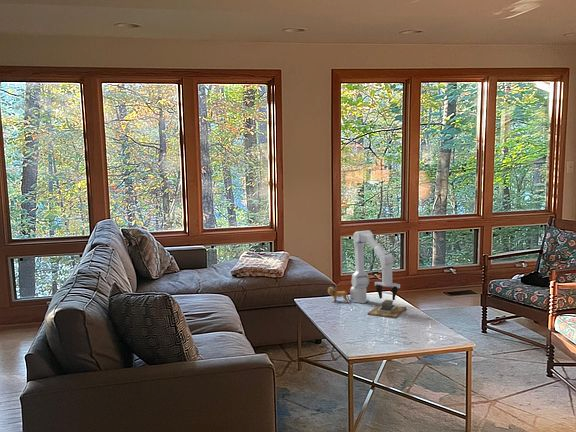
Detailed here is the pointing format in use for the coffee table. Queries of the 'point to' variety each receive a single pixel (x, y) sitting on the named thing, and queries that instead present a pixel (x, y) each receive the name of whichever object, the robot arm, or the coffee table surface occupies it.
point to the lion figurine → (337, 294)
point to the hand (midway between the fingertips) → (387, 299)
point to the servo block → (387, 304)
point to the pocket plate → (387, 311)
